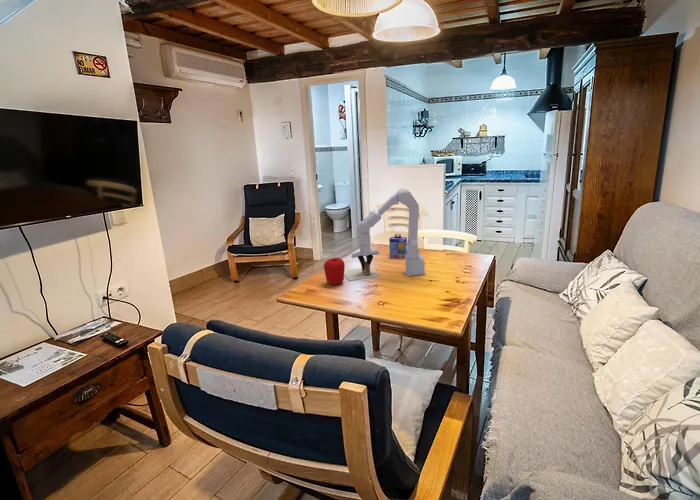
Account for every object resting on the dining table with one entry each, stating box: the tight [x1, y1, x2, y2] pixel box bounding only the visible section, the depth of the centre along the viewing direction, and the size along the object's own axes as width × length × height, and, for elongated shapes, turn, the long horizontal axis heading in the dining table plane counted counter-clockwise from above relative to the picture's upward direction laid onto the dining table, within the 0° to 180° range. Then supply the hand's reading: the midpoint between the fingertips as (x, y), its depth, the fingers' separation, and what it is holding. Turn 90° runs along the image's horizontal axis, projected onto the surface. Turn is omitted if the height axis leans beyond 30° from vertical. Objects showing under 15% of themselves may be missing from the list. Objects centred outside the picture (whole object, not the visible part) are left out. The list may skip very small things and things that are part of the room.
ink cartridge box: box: [388, 234, 408, 260], centre depth 227 cm, size 10×6×14 cm, turn 74°
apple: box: [323, 257, 345, 286], centre depth 191 cm, size 11×10×14 cm
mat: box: [344, 267, 380, 282], centre depth 204 cm, size 16×16×1 cm
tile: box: [362, 259, 371, 276], centre depth 202 cm, size 2×8×6 cm, turn 15°
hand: (365, 269), depth 202 cm, fingers closed on tile, 2 cm apart
